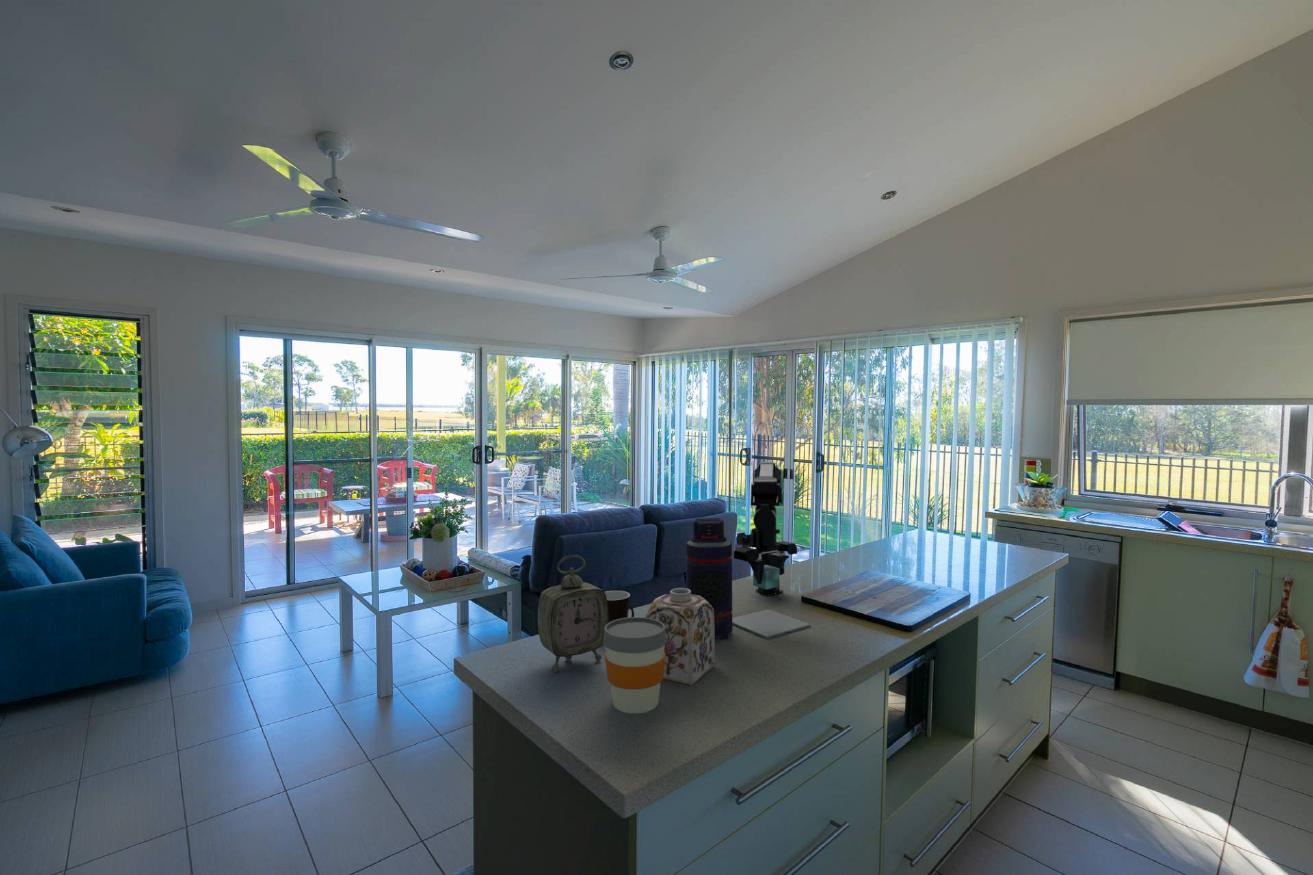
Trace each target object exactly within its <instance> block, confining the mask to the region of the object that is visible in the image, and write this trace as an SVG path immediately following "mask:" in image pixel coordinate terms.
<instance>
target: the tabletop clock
mask: <svg viewBox="0 0 1313 875" xmlns="http://www.w3.org/2000/svg"><path fill="white" fill-rule="evenodd" d="M569 559H580V560H581V561H582V562H583V564H582V566H580V567H579V568H577V569H575V568H574V567H572V566H570V568H569V570H568V571H567V570H562V569H561V568H560V567H561V564H562V563H564V561H566V560H569ZM585 566H586V561H585V558H583V556H581V555H578V554H573V555H567V556H564V557H563V558H561V559H560V560H559V562H558V563H557V567H556V568H557V571H558V572H560V574H564V575H565V576H564V577H563V578H562V580H560V581H561V582H560V584H559V585H555V586H551V587H548V588H546V589H544V590H543V591H541V593H540V595H539V599H538V605H537V631H538V636H539V641H540V643H541V645H542V646H543V647H544V648H545V649H546V650H548V651H549V652H551V654H552V655H554V656H556V657H555V664H553V665H552V667H551V670H552V672H553V671H554V673H558V672H559V670H560V665H559V661H560V658H565V660H566V659H567V660H566V661H570V659H571V660H572V657H573V656H578V655H583V654H585V653H589V652H593V654H594V660H596V661H597V662H600V661H601V660H602V658H603V657H602V654H601V653H598V652H597V649H600V648H601V647H602V646H604V644H603V637H604V628H605V626H606V624H608V619H609V614H608V603H607V598H606V594H605V592H606V591H604V590H603V589H601V588H599V587H598V586H595V585H593V584H591V583H588V582H583V579H582V578H581V577H580V576H579V575H577V573H579V572H581V571H582V570H583V569H584V567H585Z"/></svg>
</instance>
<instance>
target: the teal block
mask: <svg viewBox="0 0 1313 875" xmlns="http://www.w3.org/2000/svg"><path fill="white" fill-rule="evenodd" d="M779 583H780V575H779V568H776V567H772V566H769V565H764V570H763V577H762V581H761V584H757V581H756V579H755V576H754V573H753V572H752V586H754V587H757V588H758V587H760V588H763V589H771V588H775V587H779Z"/></svg>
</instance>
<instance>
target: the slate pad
mask: <svg viewBox="0 0 1313 875" xmlns="http://www.w3.org/2000/svg"><path fill="white" fill-rule="evenodd" d="M732 625H733V626H735V627H737V628H740V629H742V630H744V631H745V632H749V633H751V634H754V635H756V636H759V637H761V638H763V639H766V640H769V639H772V637H773V638H775V637H774V636H776V637H779V635H780V636H782V635H781V634H783V635H786V634H788V633H787V632H790V633H792V631H793V632H796V631H795V630H797V631H799V630H803V629H802V628H804V629H807V628H810V627H811V624H810V623H807V622H805V621H802V620H801V619H797V618H794V617H791V616H788V615H785V614H783V613H780V612H777V611H775V610H772V609H769V608H768V609H767V608H766V609H764V610H760V611H755V612H752V613H747V614H744V615H739V616H735V617H732ZM809 626H810V627H809ZM806 627H807V628H806ZM785 633H786V634H785Z"/></svg>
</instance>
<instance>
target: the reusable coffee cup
mask: <svg viewBox="0 0 1313 875" xmlns="http://www.w3.org/2000/svg"><path fill="white" fill-rule="evenodd" d="M666 642H667V638H666V630H665V625H664V623H662V622H661V621H659V620H656V619H652V618H646V616H645V617H643V616H634V617H628V618H622V619H617V620H614V621H611V622H609V623H608V624H606V626H605V628H604V637H603V644H604V645H603V646H604V647H605V648H604V649H605V654H604V664H605V670H606V678H607V682H608V683H609V684H610V691H611V697H612V698H611V699H612V704H613V707H614V708H615V709H616V708H617V709H618V710H617V709H616V710H617V711H619V710H620V711H619V712H622V713H625V712H627V713H626V714H632V713H633V714H643V713H648V712H650V711H652V710H655V708H656V707H657V706H658V704H659V700H660V690H661V682H662V681H663V680H664V679H663V675H664V666H665V657H666V654H665V652H664V647H665V644H666Z"/></svg>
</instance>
